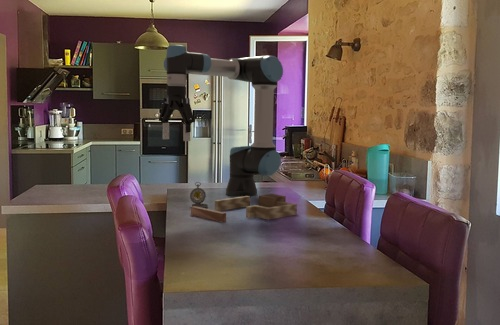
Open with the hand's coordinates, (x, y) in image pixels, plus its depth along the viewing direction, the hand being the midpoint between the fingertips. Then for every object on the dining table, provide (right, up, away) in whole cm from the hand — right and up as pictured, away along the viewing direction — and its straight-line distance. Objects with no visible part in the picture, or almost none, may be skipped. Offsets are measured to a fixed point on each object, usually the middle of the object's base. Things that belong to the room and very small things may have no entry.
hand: (176, 140), depth 213 cm
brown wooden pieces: (+27, -29, -3) cm, 39 cm away
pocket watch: (+8, -27, +11) cm, 31 cm away
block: (+38, -28, +13) cm, 49 cm away
